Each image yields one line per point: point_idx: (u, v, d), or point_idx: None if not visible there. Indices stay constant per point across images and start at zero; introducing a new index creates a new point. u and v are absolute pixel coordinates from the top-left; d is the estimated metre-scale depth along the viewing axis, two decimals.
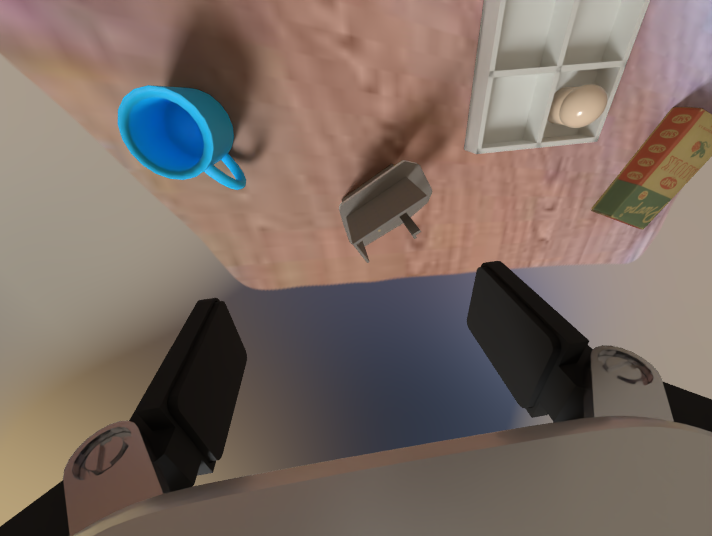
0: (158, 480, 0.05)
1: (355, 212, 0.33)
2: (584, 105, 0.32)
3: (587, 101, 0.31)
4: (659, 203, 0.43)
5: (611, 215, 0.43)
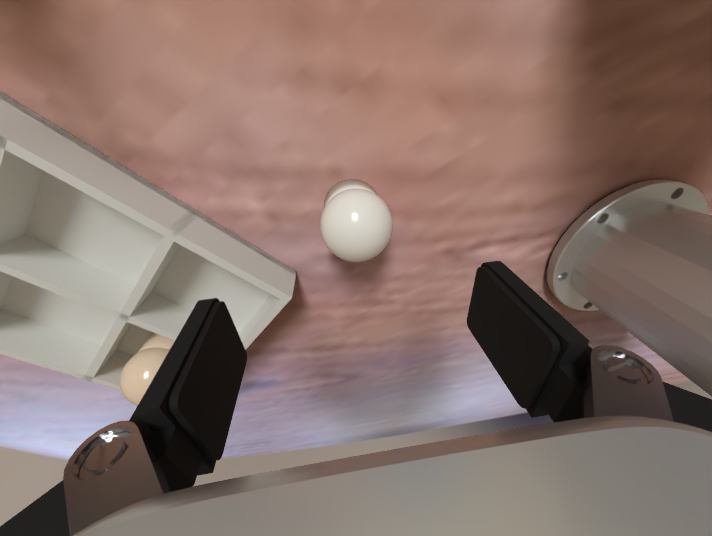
0: (158, 480, 0.05)
1: None
2: None
3: None
4: None
5: None
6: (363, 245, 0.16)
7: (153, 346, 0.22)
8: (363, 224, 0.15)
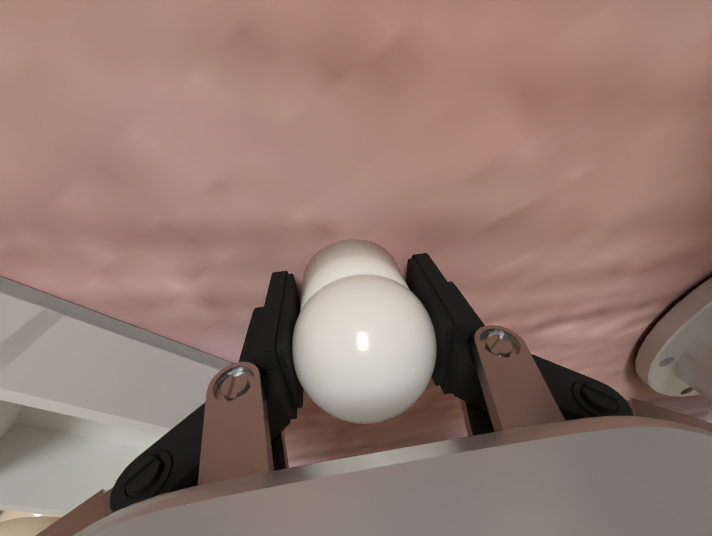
0: (265, 429, 0.06)
1: None
2: None
3: None
4: None
5: None
6: (383, 413, 0.07)
7: (20, 514, 0.13)
8: (386, 378, 0.07)
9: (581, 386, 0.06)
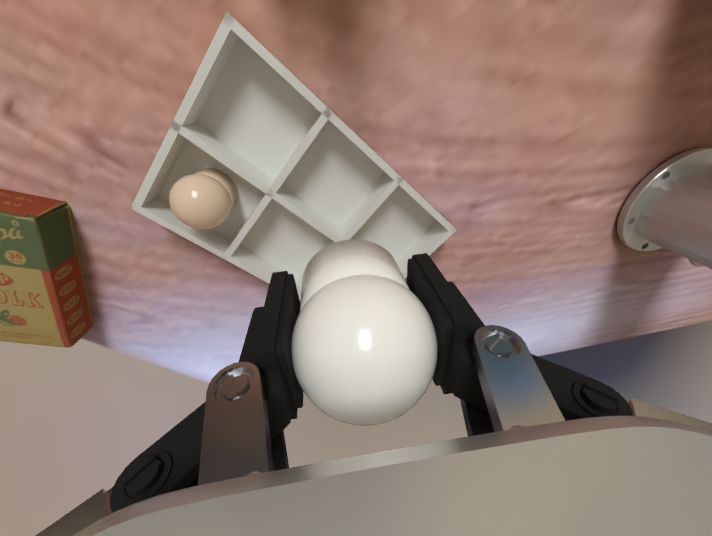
0: (265, 428, 0.06)
1: None
2: (204, 198, 0.21)
3: (208, 203, 0.22)
4: None
5: (35, 220, 0.23)
6: (384, 415, 0.07)
7: None
8: (386, 380, 0.07)
9: (581, 386, 0.06)
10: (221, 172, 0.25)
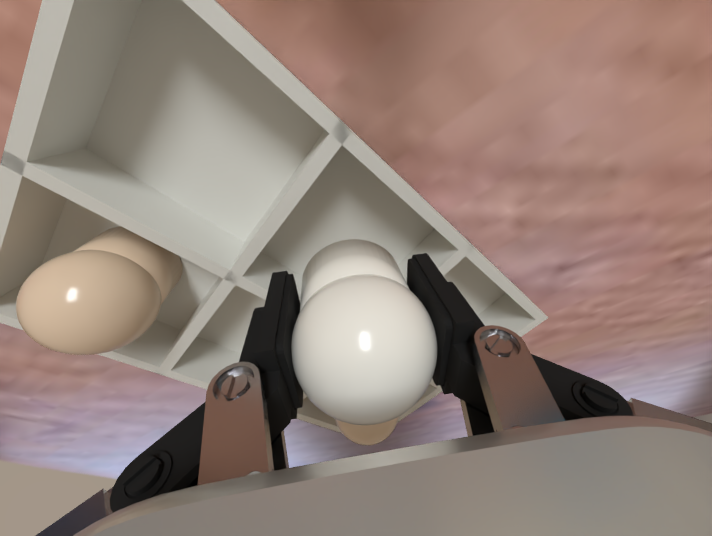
0: (265, 429, 0.06)
1: None
2: (85, 311, 0.10)
3: (94, 319, 0.10)
4: None
5: None
6: (384, 415, 0.07)
7: None
8: (386, 379, 0.07)
9: (581, 386, 0.06)
10: None
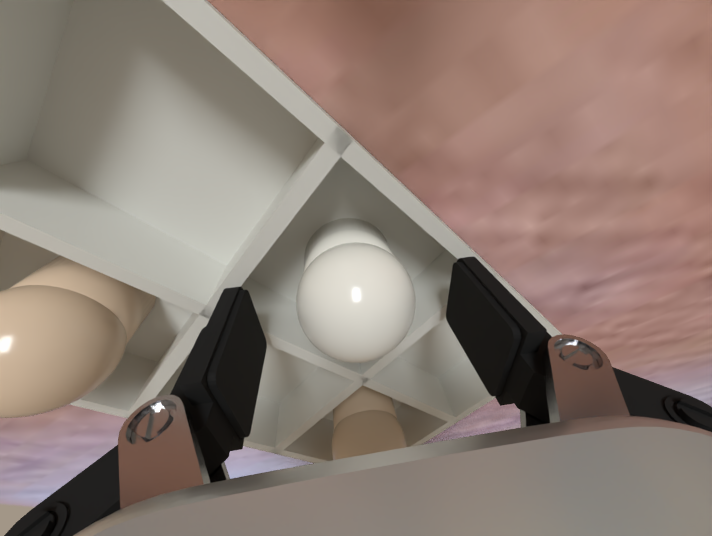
0: (197, 456, 0.05)
1: None
2: (16, 369, 0.08)
3: (31, 377, 0.08)
4: None
5: None
6: (370, 349, 0.09)
7: (365, 408, 0.17)
8: (371, 317, 0.08)
9: (671, 402, 0.06)
10: None
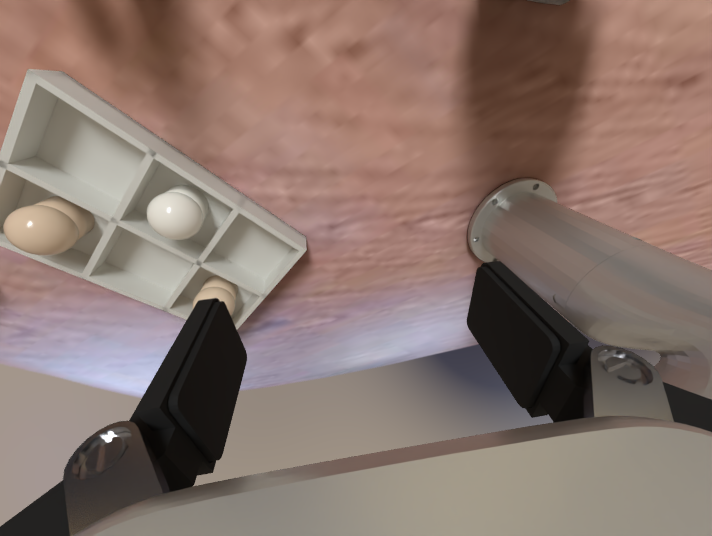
0: (158, 480, 0.05)
1: None
2: (35, 229, 0.23)
3: (40, 233, 0.24)
4: None
5: None
6: (170, 228, 0.25)
7: (211, 286, 0.33)
8: (166, 214, 0.24)
9: None
10: None
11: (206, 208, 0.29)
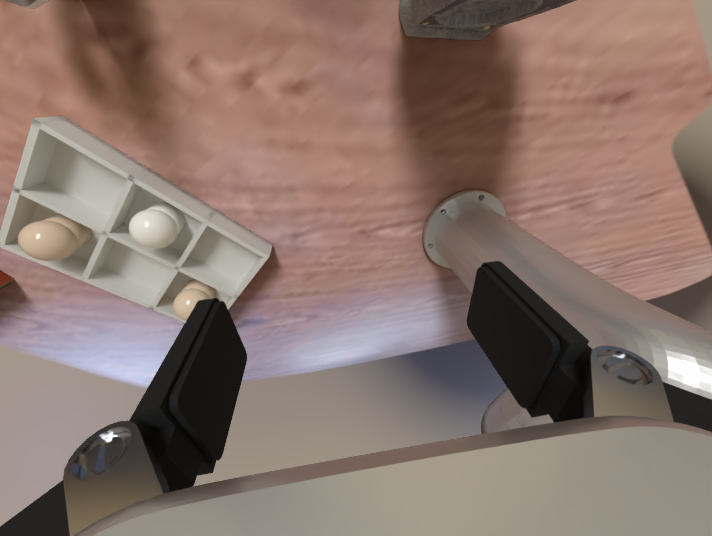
0: (158, 480, 0.05)
1: None
2: (41, 239, 0.29)
3: (45, 242, 0.29)
4: None
5: None
6: (147, 239, 0.30)
7: (190, 288, 0.38)
8: (143, 228, 0.30)
9: None
10: None
11: (182, 221, 0.34)
